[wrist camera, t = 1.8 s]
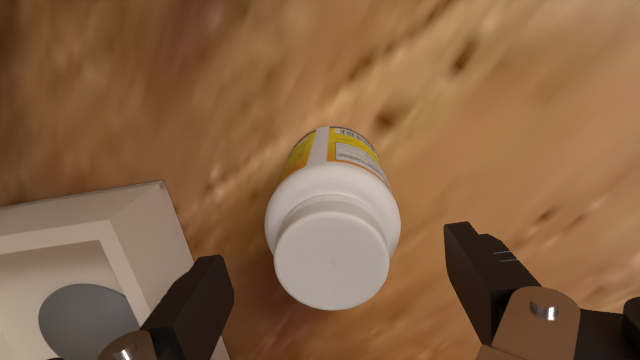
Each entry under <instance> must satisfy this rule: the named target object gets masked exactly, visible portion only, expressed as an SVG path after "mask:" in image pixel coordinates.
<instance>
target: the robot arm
mask: <svg viewBox="0 0 640 360" xmlns="http://www.w3.org/2000/svg"><path fill="white" fill-rule="evenodd" d="M444 243H445V258H446V268H447V272H448V276H449V279H450V282H451V284H452V286H453V288H454V290H455V292H456V294H457V296H458V298H459V300H460V302H461V304H462V306H463V308H464V309H465V311H466V313H467V315H468V317H469V319H470V321H471V323H472V325H473V327H474V329H475V331H476V333H477V335H478V337H479V339H480V341H481V343H482V346H481V348H480V350H479V352H478V354H477V357H476V359H475V360H640V297H636V298H632V299H630V300H628V301H627V302H626V303H625V305H624V309H623V314H619V313H609V312H600V311H592V310H585V309H581V308H579V307H578V305H577V304H576V303H575V302H574V301H573V300H572V299H571V298H570V297H568V296H567V295H565V294H563V293H561V292H559V291H556V290H553V289H550V288H546V287H542V286H541V285H540V284H539V283H538V281H537V280H536V279H535V278H534V277H533V276H532V275H531V274H530V273H529V271H528V270H527V269H526V268H525V267H524V266H523V265H522V264H521V262H520V261H519V260H517V258H516V257H515V256H514V255H513V254H512V252H510V251H509V249H508V248H507V247H506V246H505V245H504V244H503V242H502V241H500V240H499V239H497V238H495V237H493V236H491V235H489V234H480V235H478V233H477V232H476V231H475V230H474V228H473V227H472V226H471V225H470V223H469V222H467V221H466V222H459V223H451V224H445V225H444ZM166 293H167V294H165V295H164V296H163V298H162V299H161V300H160V303H158V304H157V306H156V307H155V308H154V310H153V311H152V312H151V314H150V315H149V317H148V318H147V319H146V321H145V322H144V323H143V325H142V326H141V327H140V329H139V330H138V331H133V332H130V333H127V334H125V335H122V336H121V337H119V338H117V339H116V340H114V341H113V342H111V343H110V344H109V345H108V346H106V347H105V348H104V349H103V350H102V352H101V353H100V354H99V356H98V357H97V360H210V359H211V357H212V354H213V352H214V350H215V347H216V345H217V343H218V340H219V338H220V336H221V333H222V331H223V329H224V326H225V324H226V322H227V319H228V317H229V315H230V312H231V310H232V307H233V304H234V291H233V287H232V284H231V281H230V278H229V275H228V272H227V268H226V265H225V262H224V259H223V257H222V256H221V255H211V256H204V257H199V258H198V259H197V260H196V261H195V263H194V264H193V266H192V267H191V269H190V270H189V271H188V272H186V273H185V274H183V275H182V276H181V277H180V278H178V279H177V280H176V281H175V282H174V283H173V284H172V285H171V287H170V288H169V289H168V291H167V292H166ZM47 360H65V359H63V358H60V357H57V358H51V359H47Z"/></svg>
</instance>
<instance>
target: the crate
mask: <svg viewBox="0 0 640 360" xmlns="http://www.w3.org/2000/svg"><path fill="white" fill-rule="evenodd" d="M193 264H194V261H193V258H192V256H191V253H190V250H189V248H188V245H187V242H186V240H185V237H184V234H183V231H182V229H181V226H180V223H179V221H178V218H177V215H176V213H175V210H174V207H173V204H172V202H171V199H170V196H169V194H168V191H167V188H166V186H165V183H164V180H160V181H154V182H147V183H141V184H135V185H129V186H123V187H117V188H111V189H105V190H98V191H92V192H86V193H80V194H74V195H68V196H62V197H55V198H49V199H43V200H37V201H31V202H25V203H19V204H13V205H6V206H0V360H47V359H51V358H57V357H60V358H63V359H65V360H97V357H98V356H99V354H100V353H101V352H102V350H103V349H104V348H105V347H106V346H108V345H109V344H110V343H111V342H113V341H114V340H116V339H117V338H119V337H121V336H122V335H125V334H127V333H130V332H133V331H138V330H139V329H140V327H141V326H142V325H143V323H144V322H145V321H146V319H147V318H148V317H149V315H150V314H151V312H152V311H153V310H154V308H155V307H156V306H157V304H158V303H160V300H161V299H162V298H163V296H164V295H165V294H167V293H166V292H167V291H168V289H169V288H170V287H171V285H172V284H173V283H174V282H175V281H176V280H177V279H178V278H180V277H181V276H182V275H183V274H185V273H186V272H188V271H189V270H190V269H191V267H192V266H193ZM210 360H230V358H229V356H228V353H227V350H226V348H225V345H224V342H223V339H222V337H221V336H220V338H219V340H218V343H217V345H216V347H215V350H214V352H213V354H212V357H211V359H210Z"/></svg>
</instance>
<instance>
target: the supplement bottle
mask: <svg viewBox="0 0 640 360" xmlns="http://www.w3.org/2000/svg"><path fill="white" fill-rule="evenodd" d="M264 226H265V236H266V240H267V243H268V246H269V248H270V250H271V252H272V254H273V256H274V268H275V272H276V275H277V277H278V279H279V282H280V283H281V285H282V286H283V288H284V289H285V290H286V291H287V292H288V293H289V294H290V295H291V296H292V297H294V298H295V299H296V300H298V301H299V302H301V303H303V304H305V305H308V306H310V307H313V308H317V309H321V310H344V309H349V308H352V307H355V306H358V305H360V304H362V303H364V302H366V301H367V300H369V299H370V298H372V297H373V296H374V295H375V294H376V293H377V292H378V291H379V289H380V288H381V287H382V285H383V283H384V281H385V280H386V277H387V274H388V270H389V260H390V258H391V257H392V255H393V253H394V252H395V249H396V247H397V244H398V241H399V237H400V229H401V221H400V214H399V210H398V207H397V203H396V201H395V198H394V196H393V193H392V191H391V189H390V186H389V184H388V181H387V179H386V176H385V174H384V171H383V169H382V167H381V164H380V162H379V159H378V157H377V154H376V152H375V150H374V149H373V147H372V145H371V144H370V143H369V142H368V141H367V140H366V139H365V138H364V137H363V136H362V135H361V134H359V133H358V132H356V131H354V130H352V129H349V128H346V127H341V126H325V127H321V128H317V129H315V130H313V131H311V132H309V133H307V134H306V135H305V136H303V137H302V138H301V139H300V140H299V141H298V142H297V144H296V145H295V146H294V148H293V150H292V152H291V154H290V156H289V158H288V160H287V163H286V165H285V167H284V169H283V172H282V174H281V176H280V179H279V181H278V183H277V185H276V187H275V190H274V192H273V194H272V196H271V198H270V201H269V203H268V206H267V210H266V214H265V225H264Z"/></svg>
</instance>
